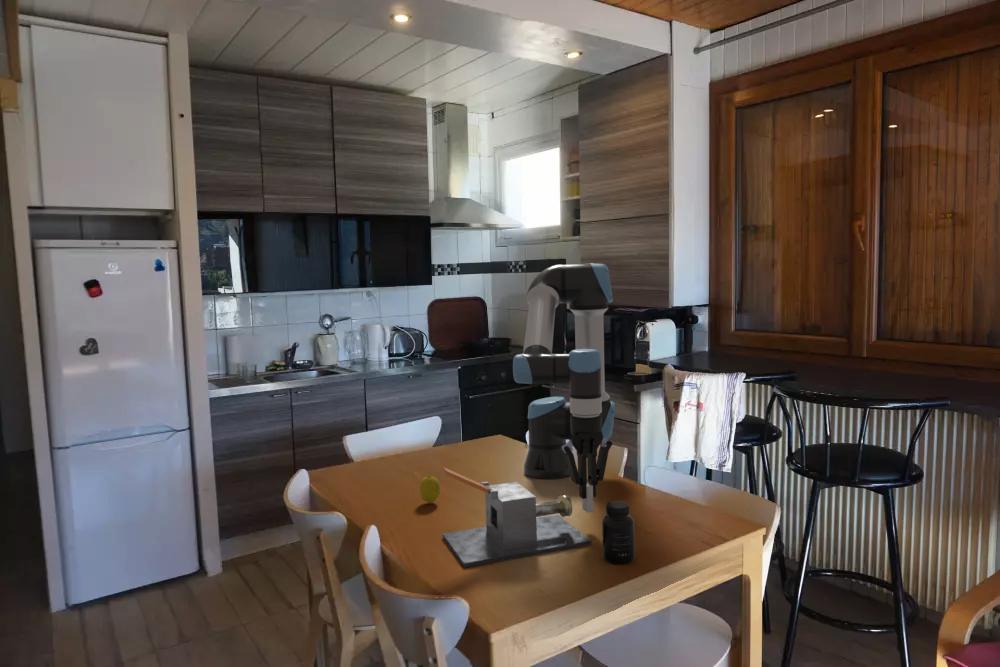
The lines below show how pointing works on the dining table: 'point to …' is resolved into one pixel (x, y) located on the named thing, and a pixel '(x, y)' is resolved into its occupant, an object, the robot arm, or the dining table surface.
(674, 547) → the dining table surface
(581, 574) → the dining table surface
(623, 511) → the supplement bottle
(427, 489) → the lemon
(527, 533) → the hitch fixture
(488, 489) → the tan flat bar
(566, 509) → the lynch pin
